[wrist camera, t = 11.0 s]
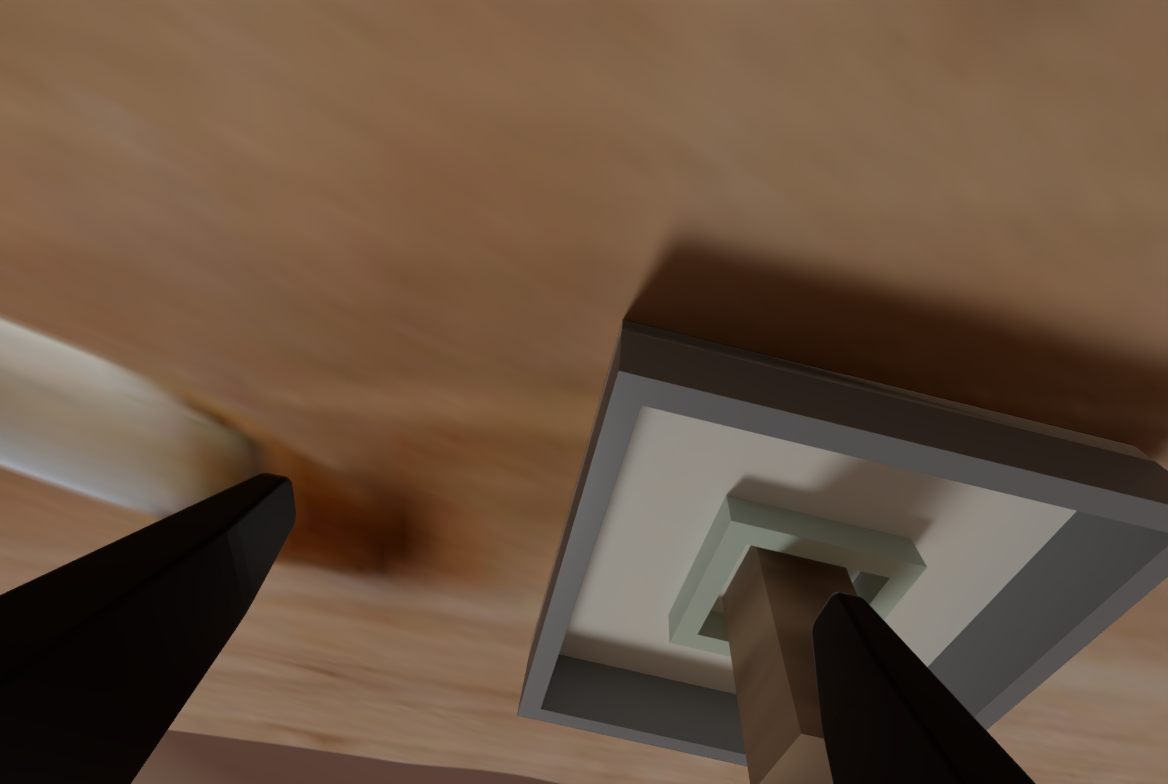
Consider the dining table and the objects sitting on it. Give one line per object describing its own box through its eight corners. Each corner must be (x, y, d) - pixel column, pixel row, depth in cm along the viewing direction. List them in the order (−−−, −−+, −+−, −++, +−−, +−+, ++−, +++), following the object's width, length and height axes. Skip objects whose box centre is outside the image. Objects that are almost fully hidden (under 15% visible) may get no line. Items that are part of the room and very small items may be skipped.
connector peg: (842, 560, 23) (926, 761, 16) (803, 616, 25) (863, 817, 19) (754, 539, 23) (801, 733, 16) (721, 597, 25) (751, 792, 18)
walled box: (1134, 445, 20) (1233, 520, 17) (873, 719, 31) (902, 800, 27) (622, 319, 20) (618, 370, 16) (531, 642, 30) (517, 715, 27)
